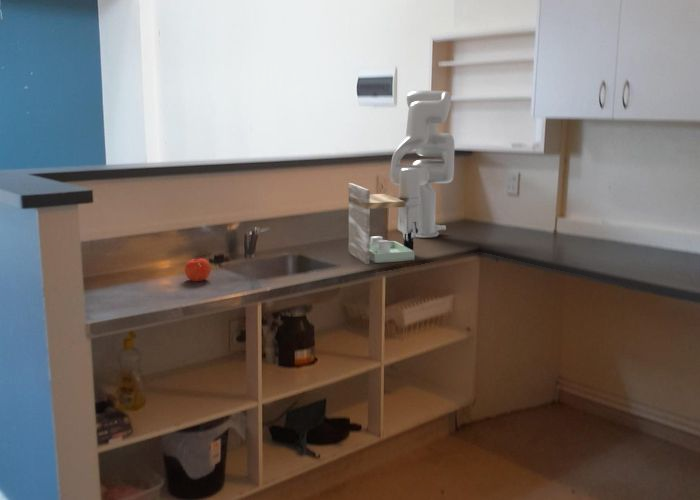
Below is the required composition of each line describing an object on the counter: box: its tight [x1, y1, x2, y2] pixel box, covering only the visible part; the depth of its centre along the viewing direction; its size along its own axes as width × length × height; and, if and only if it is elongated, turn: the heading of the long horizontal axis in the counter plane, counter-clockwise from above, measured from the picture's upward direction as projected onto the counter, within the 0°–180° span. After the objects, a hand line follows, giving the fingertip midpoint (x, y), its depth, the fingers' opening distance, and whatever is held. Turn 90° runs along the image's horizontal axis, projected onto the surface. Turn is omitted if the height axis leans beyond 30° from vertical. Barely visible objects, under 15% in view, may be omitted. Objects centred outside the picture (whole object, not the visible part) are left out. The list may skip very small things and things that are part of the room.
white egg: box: [378, 239, 391, 253], centre depth 255 cm, size 4×4×6 cm
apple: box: [184, 255, 212, 282], centre depth 226 cm, size 8×8×8 cm
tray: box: [369, 240, 416, 264], centre depth 260 cm, size 15×19×3 cm
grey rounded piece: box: [370, 235, 384, 253], centre depth 262 cm, size 4×4×6 cm
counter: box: [348, 182, 404, 265], centre depth 256 cm, size 14×20×26 cm
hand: (408, 250), depth 262 cm, fingers closed
